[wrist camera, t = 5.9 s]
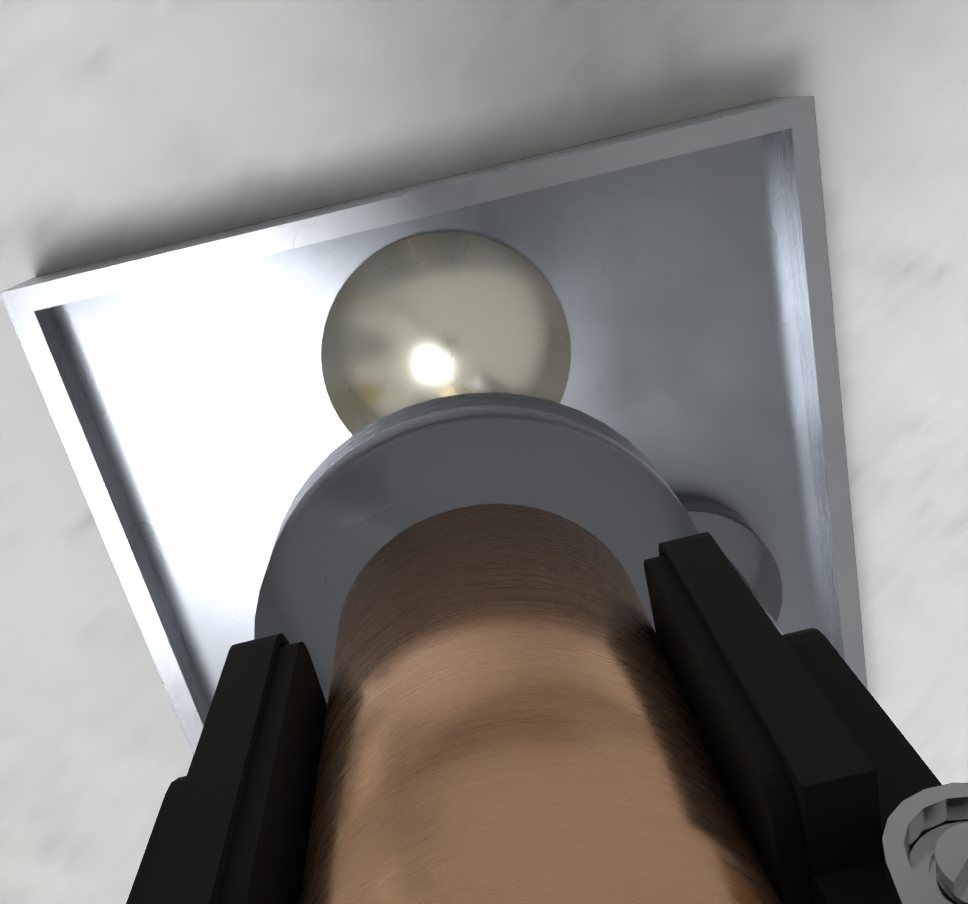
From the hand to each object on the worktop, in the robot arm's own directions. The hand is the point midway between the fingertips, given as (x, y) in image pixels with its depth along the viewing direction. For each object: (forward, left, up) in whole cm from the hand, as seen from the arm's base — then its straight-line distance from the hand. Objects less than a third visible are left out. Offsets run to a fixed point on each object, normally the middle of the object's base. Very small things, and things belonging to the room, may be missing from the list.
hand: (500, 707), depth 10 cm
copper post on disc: (0, 0, -2) cm, 2 cm away
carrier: (+6, 0, -17) cm, 17 cm away
